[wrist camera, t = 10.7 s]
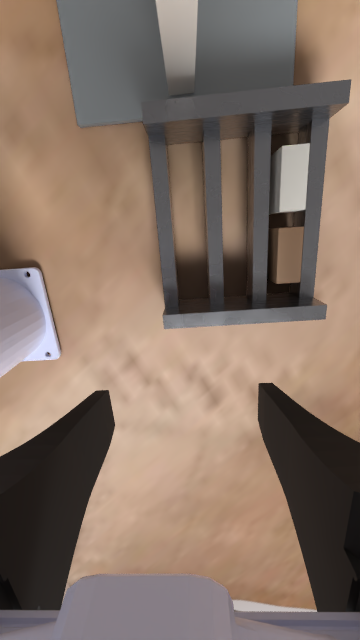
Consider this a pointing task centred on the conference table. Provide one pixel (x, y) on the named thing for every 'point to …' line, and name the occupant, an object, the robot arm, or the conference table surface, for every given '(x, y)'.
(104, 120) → the mat
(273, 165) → the offcut grey
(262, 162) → the rack
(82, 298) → the conference table surface
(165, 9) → the sheet
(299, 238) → the offcut walnut
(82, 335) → the conference table surface
